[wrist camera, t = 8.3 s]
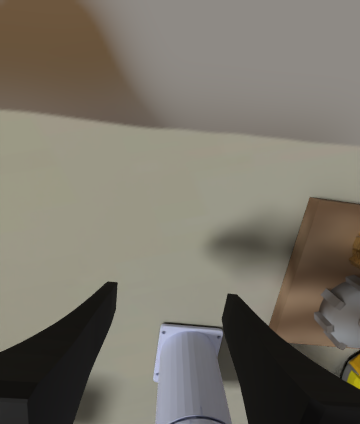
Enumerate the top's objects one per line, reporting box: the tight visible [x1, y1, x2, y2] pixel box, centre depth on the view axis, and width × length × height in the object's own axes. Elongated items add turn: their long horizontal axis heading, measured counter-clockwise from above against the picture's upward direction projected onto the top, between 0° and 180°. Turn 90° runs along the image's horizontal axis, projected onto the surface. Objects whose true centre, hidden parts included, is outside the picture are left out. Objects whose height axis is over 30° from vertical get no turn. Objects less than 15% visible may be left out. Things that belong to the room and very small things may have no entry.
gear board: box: [269, 197, 360, 350], centre depth 21 cm, size 18×14×4 cm
